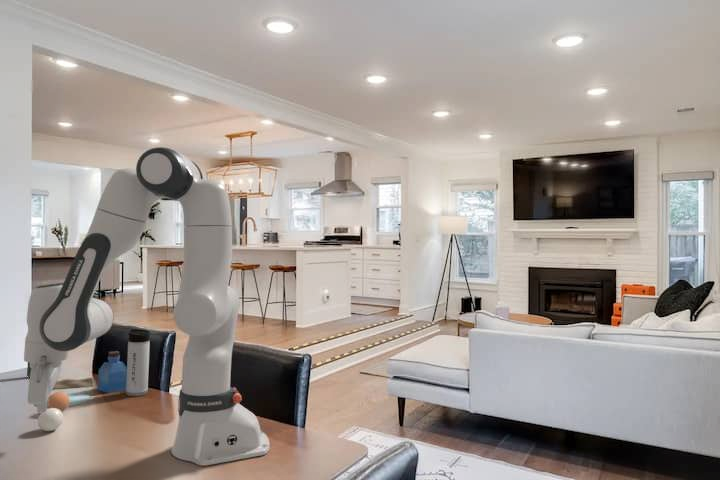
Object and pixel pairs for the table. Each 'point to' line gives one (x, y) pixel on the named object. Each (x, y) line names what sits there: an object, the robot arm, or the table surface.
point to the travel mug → (138, 362)
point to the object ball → (58, 401)
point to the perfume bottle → (112, 374)
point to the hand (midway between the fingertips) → (42, 410)
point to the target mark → (76, 398)
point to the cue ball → (50, 419)
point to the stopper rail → (73, 382)
